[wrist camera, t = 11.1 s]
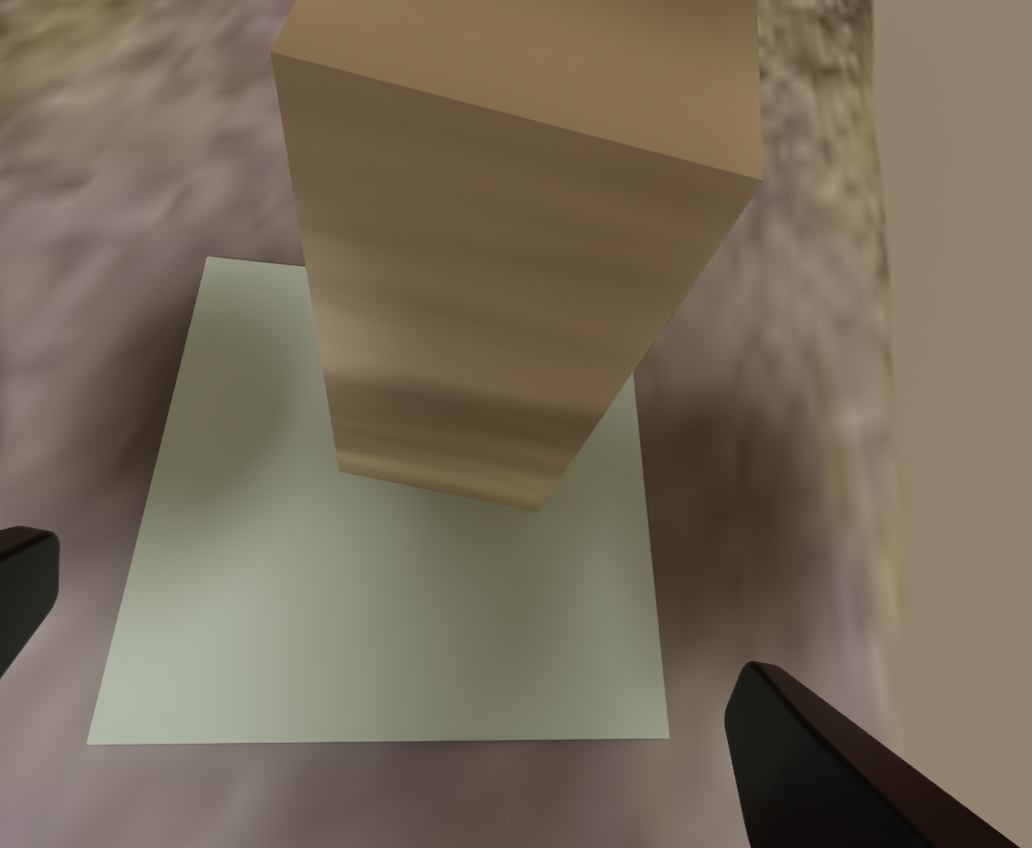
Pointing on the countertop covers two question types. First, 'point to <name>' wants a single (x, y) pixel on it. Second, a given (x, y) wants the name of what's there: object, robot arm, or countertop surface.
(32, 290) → the countertop surface
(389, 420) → the oak block
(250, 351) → the mat
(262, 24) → the countertop surface
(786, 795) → the robot arm
